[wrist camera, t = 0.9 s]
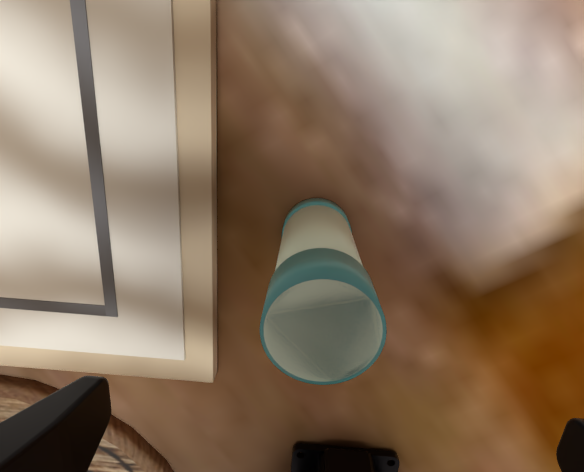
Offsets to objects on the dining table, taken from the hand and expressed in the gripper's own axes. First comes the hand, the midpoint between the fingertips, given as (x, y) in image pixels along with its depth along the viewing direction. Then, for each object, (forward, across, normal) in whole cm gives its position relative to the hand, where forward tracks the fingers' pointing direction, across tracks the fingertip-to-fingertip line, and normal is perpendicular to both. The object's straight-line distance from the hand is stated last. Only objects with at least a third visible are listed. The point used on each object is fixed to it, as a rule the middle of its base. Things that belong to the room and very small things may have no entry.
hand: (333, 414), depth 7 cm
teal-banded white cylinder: (+12, 0, 0) cm, 12 cm away
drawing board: (+12, +14, -3) cm, 19 cm away
